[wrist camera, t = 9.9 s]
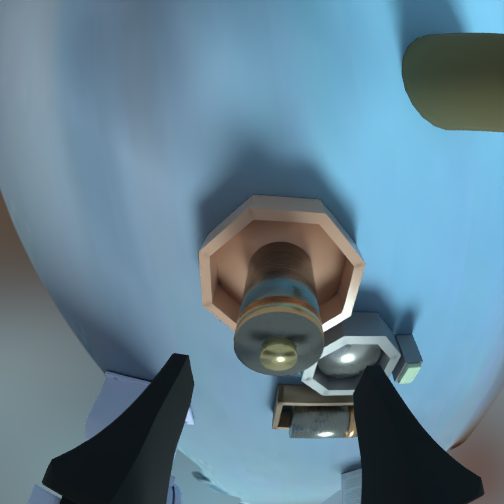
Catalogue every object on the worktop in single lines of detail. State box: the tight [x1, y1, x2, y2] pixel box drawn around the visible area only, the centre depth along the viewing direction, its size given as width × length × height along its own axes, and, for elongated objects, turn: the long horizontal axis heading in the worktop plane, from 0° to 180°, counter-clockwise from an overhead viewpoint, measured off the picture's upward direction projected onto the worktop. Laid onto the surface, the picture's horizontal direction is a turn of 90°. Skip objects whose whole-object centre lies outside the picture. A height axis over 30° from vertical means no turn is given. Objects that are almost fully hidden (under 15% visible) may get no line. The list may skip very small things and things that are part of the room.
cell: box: [234, 242, 324, 376], centre depth 15 cm, size 4×4×7 cm
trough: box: [272, 384, 354, 430], centre depth 25 cm, size 10×6×2 cm, turn 88°
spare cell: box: [289, 405, 358, 438], centre depth 24 cm, size 7×4×4 cm, turn 88°
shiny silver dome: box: [318, 344, 381, 378], centre depth 20 cm, size 5×5×1 cm
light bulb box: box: [341, 468, 362, 504], centre depth 35 cm, size 11×7×11 cm, turn 46°
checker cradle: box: [301, 312, 423, 396], centre depth 20 cm, size 9×7×3 cm
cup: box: [199, 195, 365, 332], centre depth 17 cm, size 9×9×2 cm
